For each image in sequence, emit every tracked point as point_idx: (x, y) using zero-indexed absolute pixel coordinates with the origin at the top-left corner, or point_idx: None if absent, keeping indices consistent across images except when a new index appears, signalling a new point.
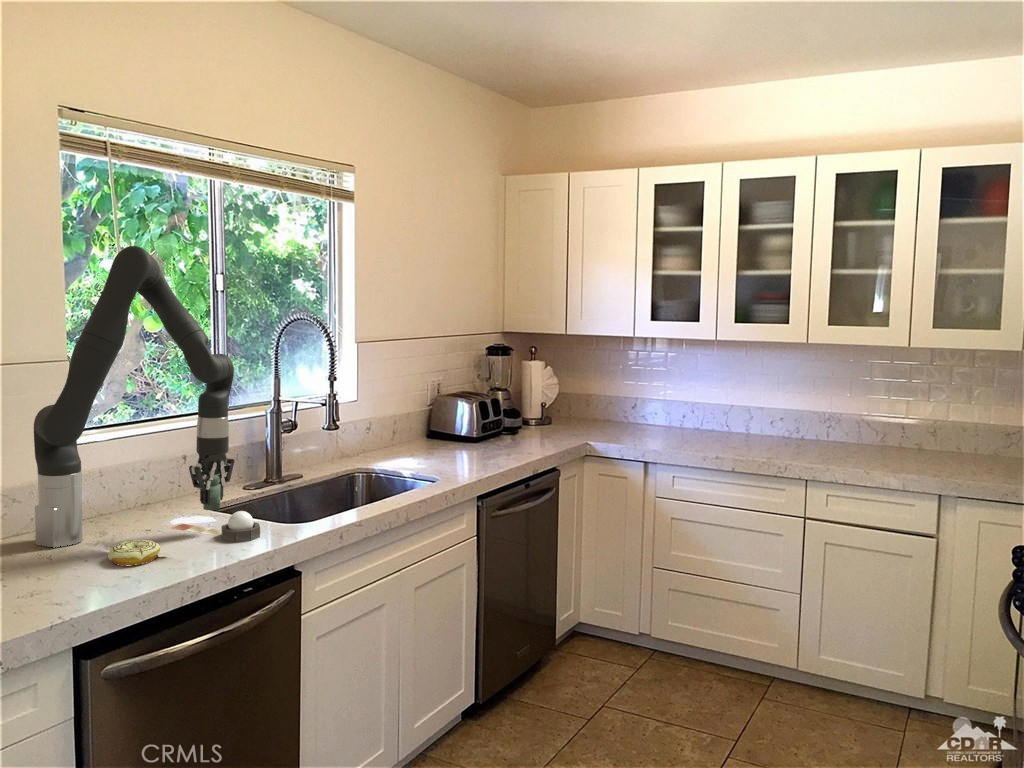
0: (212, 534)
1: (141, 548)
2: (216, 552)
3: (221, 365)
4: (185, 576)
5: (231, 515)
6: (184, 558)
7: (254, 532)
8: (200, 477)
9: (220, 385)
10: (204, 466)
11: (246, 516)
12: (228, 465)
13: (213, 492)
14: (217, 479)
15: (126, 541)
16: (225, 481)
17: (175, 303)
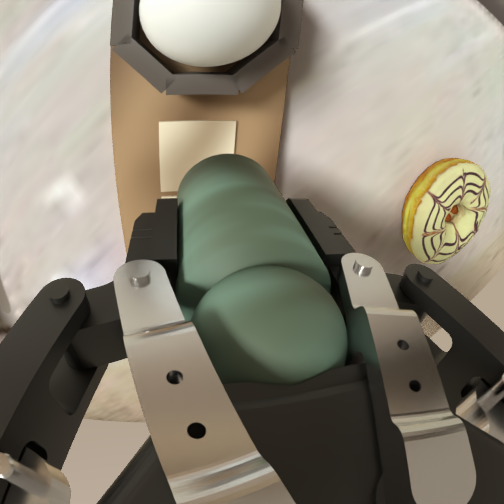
0: (228, 135)
1: (478, 191)
2: (355, 30)
3: None
4: (499, 40)
5: (242, 42)
6: (422, 96)
7: None
8: (487, 331)
9: None
10: (490, 436)
11: None
12: (14, 457)
13: (297, 222)
14: (291, 301)
15: (441, 253)
16: (88, 299)
17: None
